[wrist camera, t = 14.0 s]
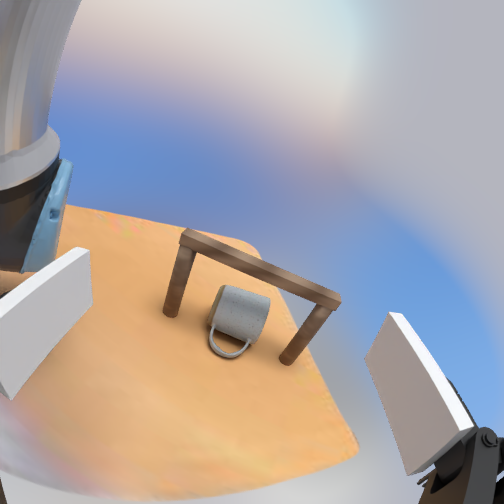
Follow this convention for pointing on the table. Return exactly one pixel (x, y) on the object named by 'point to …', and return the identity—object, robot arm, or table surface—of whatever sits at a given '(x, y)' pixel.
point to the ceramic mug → (238, 316)
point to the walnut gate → (258, 269)
